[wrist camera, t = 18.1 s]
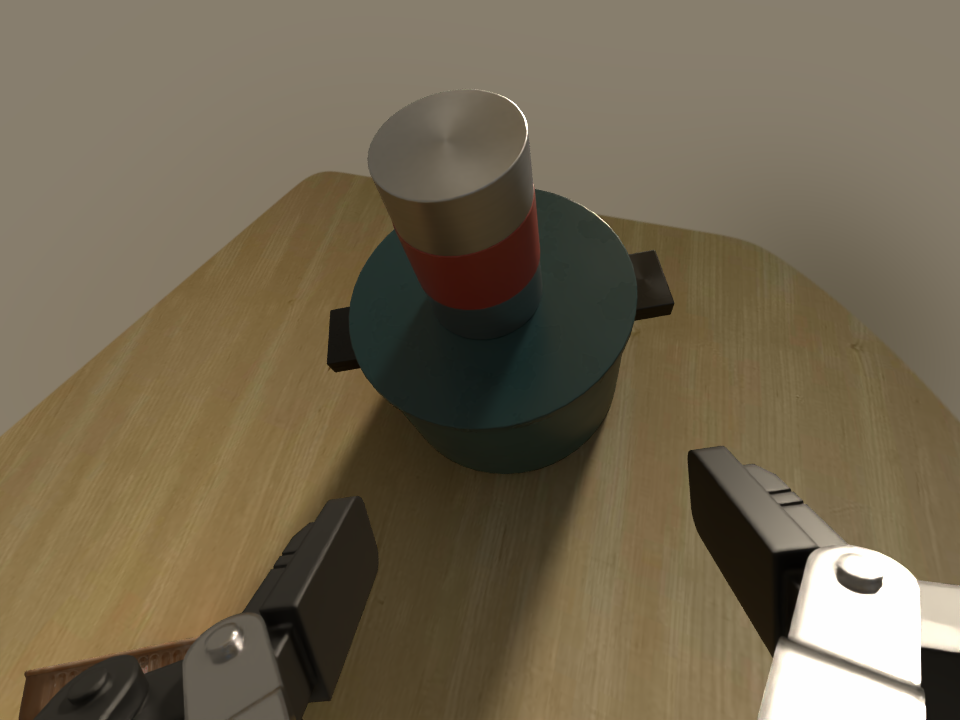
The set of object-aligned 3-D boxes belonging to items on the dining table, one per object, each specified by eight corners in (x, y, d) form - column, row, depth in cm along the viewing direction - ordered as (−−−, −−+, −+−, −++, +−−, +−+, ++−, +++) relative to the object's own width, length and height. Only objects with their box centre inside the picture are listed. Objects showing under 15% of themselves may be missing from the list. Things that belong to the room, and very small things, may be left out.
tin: (340, 609, 30) (264, 609, 23) (341, 667, 28) (260, 687, 21) (121, 652, 31) (-19, 665, 24) (111, 711, 29) (-42, 744, 22)
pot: (618, 259, 39) (631, 157, 30) (679, 455, 31) (721, 393, 22) (377, 304, 41) (324, 220, 32) (375, 498, 33) (304, 457, 24)
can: (534, 238, 28) (517, 73, 20) (552, 329, 25) (541, 181, 16) (428, 258, 29) (367, 107, 20) (433, 350, 26) (363, 217, 17)
